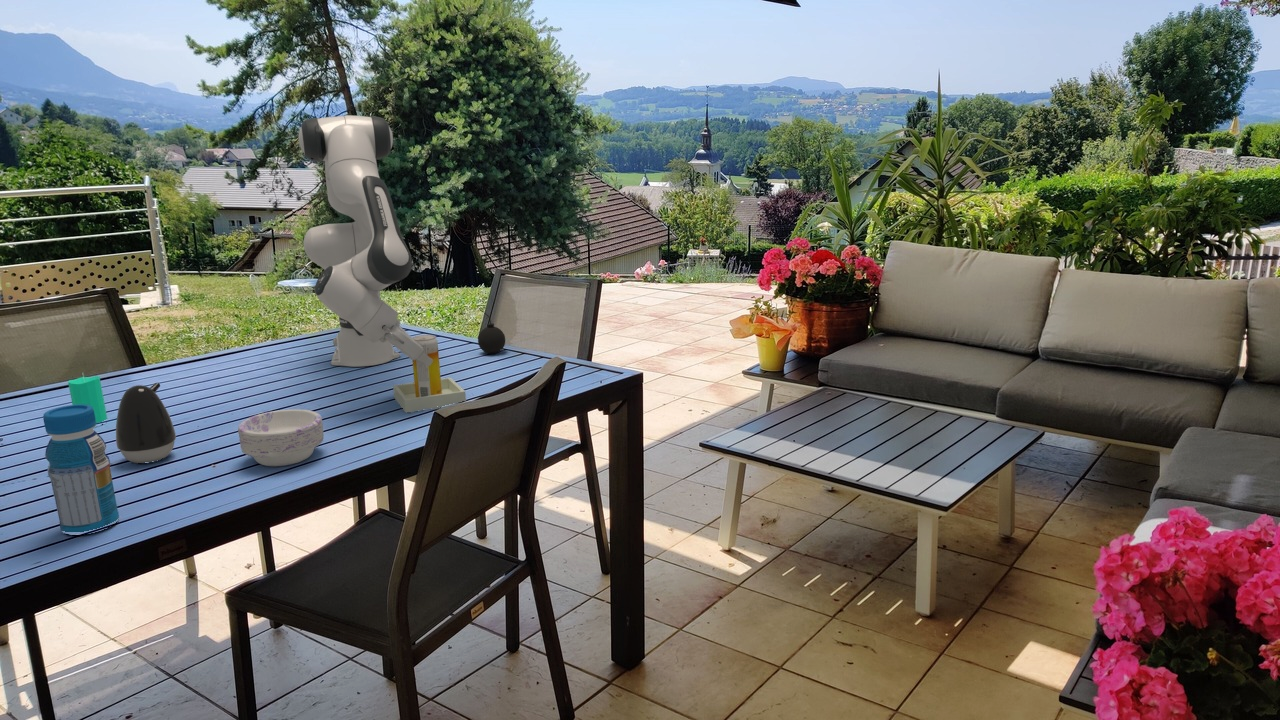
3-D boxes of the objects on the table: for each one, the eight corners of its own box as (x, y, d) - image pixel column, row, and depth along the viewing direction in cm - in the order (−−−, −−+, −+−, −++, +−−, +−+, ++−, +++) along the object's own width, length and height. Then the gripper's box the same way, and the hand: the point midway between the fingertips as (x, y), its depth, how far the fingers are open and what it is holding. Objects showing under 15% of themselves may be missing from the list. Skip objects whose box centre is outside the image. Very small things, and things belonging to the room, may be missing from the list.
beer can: (444, 394, 206) (439, 334, 203) (439, 401, 201) (434, 339, 197) (418, 395, 206) (413, 334, 202) (413, 402, 200) (407, 340, 197)
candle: (114, 421, 194) (105, 370, 191) (90, 429, 188) (80, 377, 185) (94, 418, 195) (85, 368, 192) (70, 427, 190) (60, 375, 187)
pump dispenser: (191, 451, 173) (179, 379, 169) (152, 470, 163) (138, 394, 160) (148, 448, 175) (136, 377, 172) (107, 466, 166) (93, 392, 162)
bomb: (509, 350, 251) (507, 310, 248) (500, 357, 244) (498, 315, 241) (484, 349, 253) (481, 310, 250) (474, 356, 245) (471, 315, 242)
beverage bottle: (69, 543, 134) (44, 422, 129) (53, 528, 139) (28, 411, 134) (128, 524, 140) (107, 408, 135) (110, 511, 145) (89, 399, 140)
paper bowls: (323, 466, 163) (319, 427, 161) (237, 477, 159) (231, 437, 157) (328, 441, 177) (323, 404, 176) (249, 450, 173) (243, 412, 171)
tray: (394, 397, 207) (393, 385, 206) (451, 389, 213) (450, 377, 212) (406, 413, 195) (404, 400, 194) (466, 404, 201) (465, 391, 200)
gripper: (397, 320, 186) (445, 357, 192) (380, 305, 204) (425, 340, 210) (378, 342, 185) (427, 379, 192) (363, 325, 203) (408, 359, 209)
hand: (426, 358), depth 201 cm, fingers open, 8 cm apart
